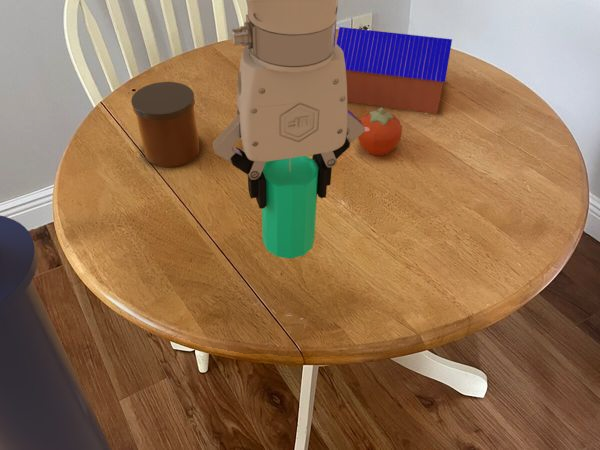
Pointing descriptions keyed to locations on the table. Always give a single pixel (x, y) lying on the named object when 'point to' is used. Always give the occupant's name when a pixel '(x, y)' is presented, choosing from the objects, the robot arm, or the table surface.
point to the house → (394, 68)
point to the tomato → (380, 132)
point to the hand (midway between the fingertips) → (289, 193)
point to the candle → (290, 206)
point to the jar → (167, 123)
